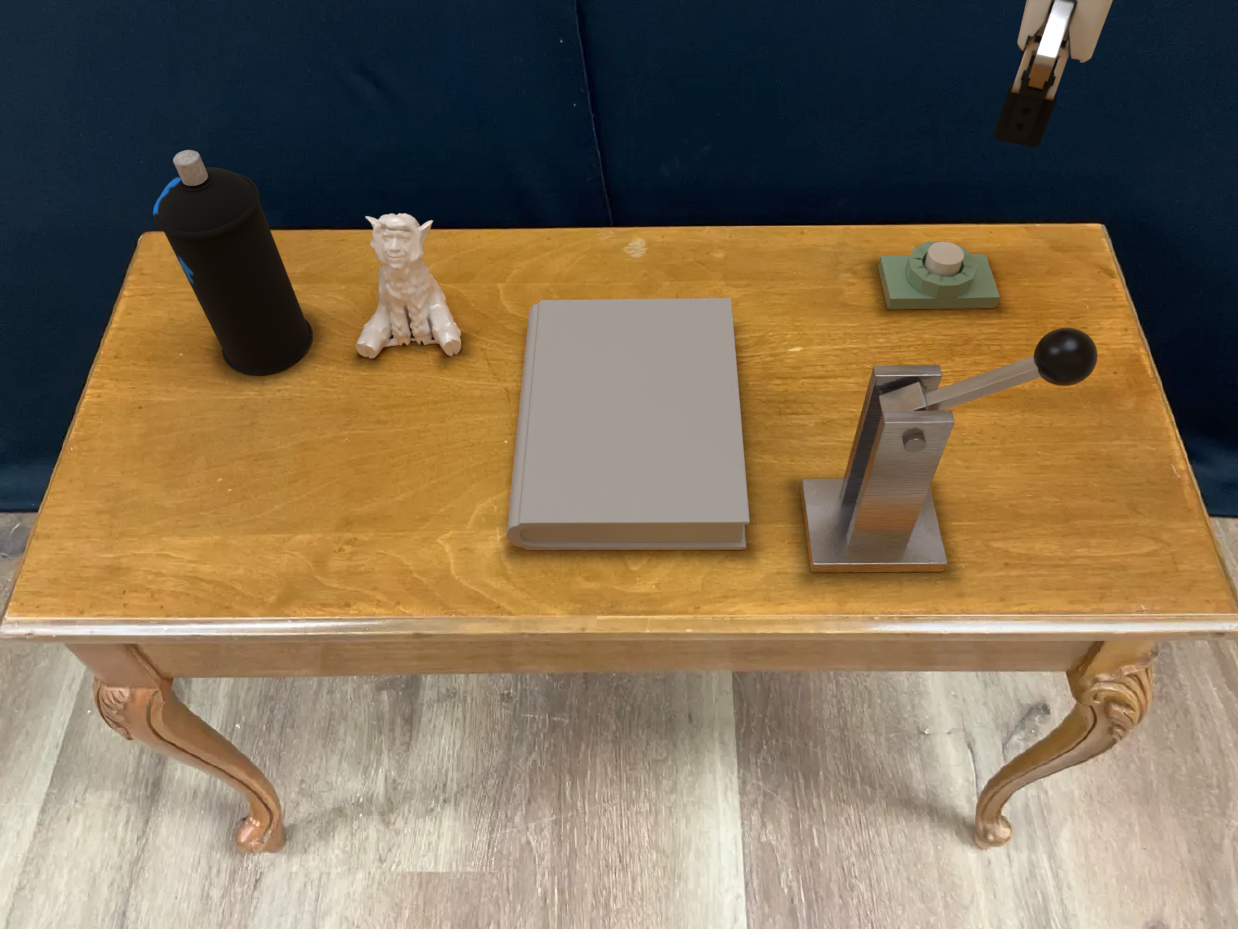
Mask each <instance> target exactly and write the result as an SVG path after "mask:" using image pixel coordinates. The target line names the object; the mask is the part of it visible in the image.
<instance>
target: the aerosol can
mask: <svg viewBox="0 0 1238 929" xmlns="http://www.w3.org/2000/svg"><path fill="white" fill-rule="evenodd" d="M172 162H173V164H174V167H175V168H176V171H177V173H178V176H176V177H175V178H174V179H172V180H170V182H169V183H168V184H167V185H166V186H165V187H164V189H163V191H162V192H161V194H160V196H159V197H158V198H157V200H156V202H155V204H154V206H153V211H152V216H153V221H154V223H155V225H156V227H157V228H159V229H160V230H161V231H162V232H163V233H164V235H165V237H166V239H167V241H168V243H169V245H170V248H171V249H172V251H173V253H174V255H175V257H176V259H177V261H178V263H179V265H180V267H181V269H182V271H183V273H184V275H185V277H186V279H187V281H188V284H189V285H190V287H191V289H192V291H193V293H194V295H195V297H196V299H197V301H198V303H199V305H200V307H201V309H202V311H203V313H204V315H205V317H206V319H207V321H208V323H209V325H210V327H211V329H212V331H213V333H214V335H215V337H216V339H217V341H218V343H219V345H220V347H221V353H222V358H223V360H224V361H225V363H226V364H227V365H228V366H229V367H230V368H231V369H233V370H234V371H237V372H239V373H242V374H244V375H245V374H246V375H251V376H261V375H262V376H263V375H269V374H274V373H277V372H280V371H282V370H285V369H287V368H289V367H291V366H293V365H294V364H295V363H297V362H299V361H300V359H301V358H303V357H304V355H305V354H306V353H307V352H308V351H309V349H310V347H311V345H312V341H313V328H312V326H311V323H310V322H309V321H308V320H307V319H306V318H305V316H304V313H303V311H302V307H301V305H300V303H299V300H298V298H297V295H296V293H295V290H294V287H293V285H292V282H291V279H290V277H289V274H288V272H287V269H286V267H285V264H284V261H283V258H282V256H281V254H280V251H279V249H278V246H277V244H276V242H275V241H276V240H275V239H274V236H273V233H272V231H271V228H270V226H269V223H268V221H267V219H266V216H265V213H264V210H263V207H262V205H261V203H260V192H259V188H258V187H257V185H256V184H255V182H254V181H253V180H251V179H250V178H249V177H247V176H246V175H243V174H240V173H237V172H234V171H231V170H228V169H224V168H221V167H214V166H213V167H212V166H211V167H205V164H204V162H203V160H202V157H201V155H200V153H199V152H198V151H196V150H193V149H185V150H182V151H180V152H177V153H176V154H175V155H174V157H173V159H172Z"/></svg>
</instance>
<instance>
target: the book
mask: <svg viewBox="0 0 1238 929" xmlns="http://www.w3.org/2000/svg"><path fill="white" fill-rule="evenodd" d="M734 325H735V324H734V315H733V303H732V297H701V298H699V297H697V298H696V297H695V298H694V297H693V298H692V297H691V298H614V299H613V298H607V299H606V298H604V299H603V298H602V299H601V298H600V299H541V300H539V302H537V303H536V302H535V303H534V304H532V305H531V306H530V308H529V311H528V316H527V326H526V335H525V336H526V337H525V346H524V347H525V348H524V358H523V364H522V365H523V366H522V376H521V386H520V396H519V407H518V416H517V425H516V434H515V443H514V444H515V445H514V455H513V463H512V464H513V466H512V475H511V476H512V477H511V484H510V493H509V495H510V496H509V505H508V515H507V525H506V535H505V536H506V539H507V540H508V542H509V543H510V544H511V545H512V546H515V547H517V548H518V547H519V548H522V549H523V550H525V551H688V550H689V551H712V550H713V551H718V550H719V551H721V550H723V551H725V550H727V551H728V550H729V551H733V550H735V551H737V550H738V551H739V550H740V551H742V550H745V551H746V550H747V540H746V527H745V526H750V511H749V508H750V507H749V497H748V496H749V495H748V485H747V474H746V473H747V472H746V460H745V449H744V439H743V438H744V437H743V425H742V413H741V401H740V400H741V398H740V389H739V388H740V386H739V376H738V375H739V374H738V364H737V352H736V340H735V338H736V337H735V329H734V328H735V326H734Z"/></svg>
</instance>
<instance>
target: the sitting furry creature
mask: <svg viewBox="0 0 1238 929" xmlns="http://www.w3.org/2000/svg"><path fill="white" fill-rule="evenodd" d="M364 217H365V219H366V220H367V221H368V222H369V223H370V224H371V227H372V232H371V234H370V235H371V237H372V238H371V240H370V243H369V245H370V248H371V249H373V251H374V253H375V259H376V260H378V261H379V262H380V268H379V269H378V270H377V271H378V274H377V277H376V278H377V283H378V287H377V290H378V297H377V298H378V299H377V300H378V305H377V308H376V309H375V311H374V313H373V314H372V315H371V317H370V319H369V320H368V321H367V322H365V323H364V325H363V326H362V331H361V332H360V335H359V337H358V338H357V341H356V342H355V345H354V348H355V350H356V351H357V353H358V354H359V355H361V356H362V357H364V358H369V360H371V359H375V358H376V357H378V355H379V354H380V353H381V351H382V350H383V348H388V347H396V346H400V347H401V346H403V344H405V346H409V345H410V344H411V342H416V344H418V345H419V346H420V345H422V344H423V346H427V345H431V344H437V345H439V346H440V348H441V349H442V350H443V352H444V353H445V354H446V355H448V356H449V357H453V355H458V353H460V351H461V349H462V340H461V336H462V331H461V329H460V328H459V326H458V324H457V323H456V321H455V320H454V316H453V315H452V313H451V312H450V308H449V306H448V304H447V298H446V296H445V293H444V292H443V289H442V288H441V286H440V284H439V283H438V281H437V279H436V278H434V275H433V274H431V273H430V268H429V267H428V265H426V261H425V260H424V259H423V257H424V255H425V253H424V250H425V241H426V240H427V238H429V235H430V233H431V228H432V224H433V222H434V220H432V219H431V220H427V221H426V222H424V223H423V224H421V225H420V223H419V222H418V220H417V219H416V218H415V217H414V216H412V215H411V214H408V213H406V212H403V213H400V212H399V213H398V214H395V213H389V214H383V215H381V216H380V217H379V218H378V219H377V218H375V217H372V216H370V215H368V216H367V215H365V216H364ZM412 336H413V337H412ZM391 337H393V338H391ZM433 338H434V339H433Z"/></svg>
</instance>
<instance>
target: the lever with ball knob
mask: <svg viewBox="0 0 1238 929" xmlns="http://www.w3.org/2000/svg"><path fill="white" fill-rule="evenodd" d="M1097 362H1098V349H1097V346H1096V344H1095V342H1094V340H1093V339H1092V337H1090V335H1089V334H1088V333H1086V332H1085V331H1082V330H1080V329H1078V328H1074V327H1059V328H1056V329H1054V330H1051V331H1049V332H1047V333H1045V335H1043V336H1042V337H1041V339H1040V340H1038V342H1037V344H1036V346H1035V348H1034V352H1033V355H1032V356H1029V357H1026V358H1022V359H1019V360H1017V361H1014V362H1011V363H1008V364H1006V365H1002V366H999V367H997V368H993V369H991V370H988V371H985V372H983V373H980V374H977V375H974V376H971V377H967V378H965V379H962V380H959V381H956V382H954V383H951V384H948V385H945V386H942V387H940V388H939V387H938V389H936V390H933V391H930V392H928V393H925V391H924V389H923V387H922V385H921V383H920V382H917V383H914V384H911V385H908V386H905V387H902V388H900V389H897V390H894V391H891V392H888V393H886V394H883V395H880V396H879V400H880V405H881V410H882V413H883V411H947V410H948V409H951V408H954V407H958V406H960V405H963V404H966V403H969V402H972V401H975V400H978V399H982V398H983V397H987V396H990V395H993V394H996V393H998V392H1002V391H1005V390H1009V389H1010V388H1015V387H1016V386H1017V387H1018V386H1020V385H1022V384H1026V383H1029V382H1031V381H1035V380H1038V379H1040V378H1042V379H1043V380H1044V381H1046V382H1047V383H1049V384H1052V385H1054V386H1058V387H1069V386H1074V385H1077V384H1080V383H1082V382H1083V381H1084V380H1086V379H1087V378H1088V377H1090V375H1091V374H1092V373H1093V371H1094V370H1095V369H1096V368H1095V367H1096V365H1097Z"/></svg>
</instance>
